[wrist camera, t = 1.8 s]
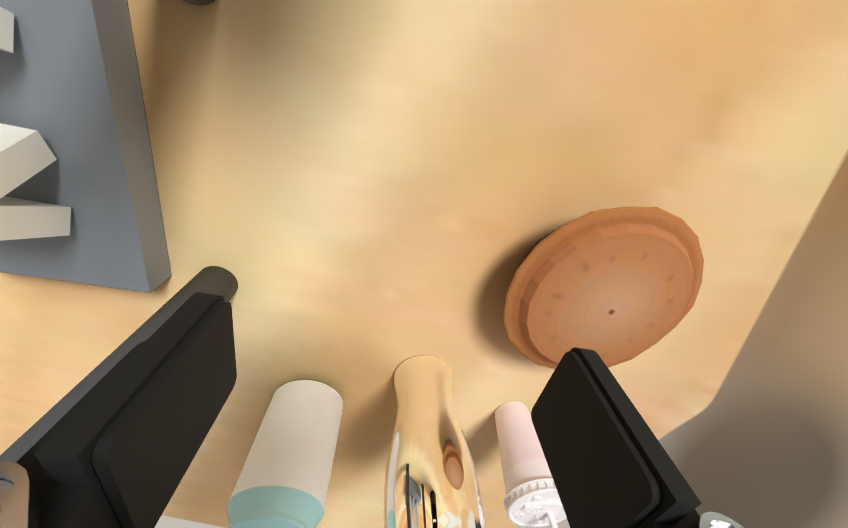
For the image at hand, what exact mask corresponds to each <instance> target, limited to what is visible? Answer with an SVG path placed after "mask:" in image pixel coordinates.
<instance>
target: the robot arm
mask: <svg viewBox="0 0 848 528" xmlns="http://www.w3.org/2000/svg"><path fill="white" fill-rule="evenodd" d="M236 377H237V373H236V360H235V346H234V333H233V320H232V307H231V304H230V303H229V302H225V299H224V297H223V296H222V295H216V294H209V293H203V292H196V293H194V294H193V295H192V296H191V297H190V298H189V299H188V300H187V301H186V302H185V303H184V304H183V305H181V306H180V307H179V308H178V309H177V310H176V311H175V312H174V313H173V314H172V315H171V316H170V317H169V318H168V319H167V320H166V321H165V322H164V323H163V324H162V325H161V326H160V327H159V328H158V329H157V330H156V331H155V332H154V333H153V334H152V335H151V336H150V337H149V338H148V339H147V340H146V341H143V342H141V343H139V344H138V345H136V346H135V347H134V348H133V349H132V350H131V351H129V352H128V353H127V354H126V355H125V356H124V357H123V358H122V359H121V360H120V361H119V362H118V363H117V364H116V365H115V366H114V367H113V368H112V369H111V370H110V371H109V372H108V373H107V374H106V375H105V376H104V377H103V378H102V379H101V380H100V381H99V382H98V383H97V384H96V385H95V386H94V387H93V388H92V389H91V390H90V391H89V392H87V393H86V394H85V395H84V396H83V397H82V398H81V399H80V400H79V401H78V402H77V403H76V404H75V405H74V406H73V407H72V408H71V409H70V410H69V411H68V412H67V413H66V414H65V415H64V416H63V417H62V418H61V419H60V420H59V421H58V422H57V423H56V424H55V425H54V426H53V427H52V428H51V429H50V430H49V431H48V432H47V433H45V434H44V435H43V436H42V437H41V438H40V439H39V440H38V441H37V442H36V443H35V444H34V445H33V446H32V447H31V448H30V449H29V450H28V451H27V452H26V453H25V454H24V455H23V456H22V457H21V458H20V459H19V460H18V461H17V462H16V463H13V462H6V461H0V528H154V527H155V525H156V524H157V522H158V520H159V518H160V517H161V515H162V513H163V511H164V509H165V508H166V506H167V504H168V502H169V501H170V499H171V497H172V495H173V494H174V492H175V490H176V488H177V487H178V485H179V483H180V481H181V479H182V478H183V476H184V474H185V472H186V471H187V469H188V467H189V465H190V464H191V462H192V460H193V458H194V457H195V455H196V453H197V451H198V449H199V448H200V446H201V444H202V442H203V441H204V439H205V437H206V435H207V434H208V432H209V430H210V428H211V427H212V425H213V423H214V421H215V419H216V418H217V416H218V414H219V412H220V411H221V409H222V407H223V405H224V404H225V402H226V400H227V398H228V397H229V395H230V393H231V391H232V389H233V387H234V385H235V382H236ZM531 419H532V423H533V426H534V428H535V431H536V434H537V437H538V440H539V442H540V445H541V448H542V451H543V453H544V456H545V459H546V462H547V464H548V467H549V470H550V473H551V475H552V478H553V481H554V484H555V486H556V489H557V492H558V495H559V498H560V500H561V503H562V506H563V509H564V511H565V514H566V517H567V520H568V522H569V525H570V528H743V527H742V526H741V525H739V524H738V523H737V522H735V521H734V520H732V519H730V518H728V517H726V516H725V515H722V514H719V513H716V512H705V513H704V514H703V515H702V516H699V515H698V513H697V512H696V510H695V508H696V507H698V506H699V505H700V504H701V502H700V500H699V499H698V498H697V496H696V495H695V493H694V492H693V490H692V489H691V487H690V486H689V484H688V483H687V482H686V480H685V479H684V478H683V476H682V474H681V473H680V472H679V470H678V469H677V467H676V466H675V464H674V463H673V462H672V460H671V458H670V457H669V456H668V454H667V453H666V451H665V450H664V449H663V447H662V446H661V444H660V443H659V441H658V440H657V438H656V437H655V435H654V434H653V432H652V431H651V430H650V428H649V427H648V425H647V424H646V422H645V421H644V419H643V418H642V417H641V415H640V414H639V412H638V411H637V409H636V408H635V406H634V405H633V404H632V402H631V401H630V399H629V398H628V396H627V395H626V393H625V392H624V391H623V389H622V388H621V386H620V385H619V383H618V382H617V380H616V379H615V378H614V376H613V375H612V373H611V372H610V370H609V369H608V367H607V366H606V365H605V363H604V362H603V360H602V359H601V357H600V356H599V354H598V353H597V352H596V351H594V350H590V349H583V348H572V349H571V350H570V351H569V352H566V353H565V354H564V355H563V357H562V359H561V361H560V362H559V364H558V366H557V367H556V369H555V371H554V373H553V374H552V376H551V378H550V379H549V381H548V383H547V385H546V386H545V388H544V390H543V391H542V393H541V395H540V397H539V398H538V400H537V402H536V403H535V405H534V407H533V409H532V412H531Z"/></svg>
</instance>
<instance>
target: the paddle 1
mask: <svg viewBox="0 0 848 528" xmlns="http://www.w3.org/2000/svg"><path fill="white" fill-rule="evenodd" d="M13 38H14V14H13V13H11V12H9V11H8V10H6V9H4V8H2V7H0V50H2V51H6V52H11V53H13Z"/></svg>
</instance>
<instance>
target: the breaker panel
mask: <svg viewBox="0 0 848 528" xmlns="http://www.w3.org/2000/svg"><path fill="white" fill-rule="evenodd" d="M0 7H2V8H4V9H6V10H8V11H9V12H11V13H13V14H14V38H13V53H11V52H6V51H2V50H0V123H2V124H7V125H12V126H17V127H22V128H27V129H32V130H37V131H38V132H39V134H40V135H41V137H42V138H43V140H44V141H45V143H46V144H47V146H48V147H49V149H50V150H51V151H52V153H53V154H54V156H55V157H56V159H57V160H56V161H54V162H53V163H51V164H50V165H48V166H47V167H45V168H44V169H43V170H41V171H40V172H38V173H37V174H35V175H34V176H32V177H31V178H29V179H28V180H27V181H25V182H24V183H22V184H21V185H19V186H18V187H16V188H15V189H14V190H12V191H11V192H9V193H8V194H6V195H5V196H7V197H13V198H19V199H25V200H31V201H37V202H43V203H49V204H55V205H61V206H67V207H71V220H70V235H69V236H55V237H42V238H29V239H15V240H2V241H0V272H2V273H9V274H16V275H24V276H31V277H38V278H46V279H53V280H60V281H68V282H75V283H82V284H90V285H97V286H104V287H112V288H119V289H126V290H133V291H141V292H148V293H151V292H152V291H153V290H154V289H156V288H157V287H158V286H159V285H160V284H162V283H163V282H164V281H165V280H166V279H168V278H169V277H170V276H171V269H170V263H169V257H168V251H167V245H166V239H165V232H164V226H163V220H162V214H161V208H160V202H159V195H158V189H157V183H156V177H155V171H154V164H153V158H152V152H151V146H150V140H149V134H148V127H147V121H146V115H145V109H144V103H143V97H142V90H141V84H140V78H139V72H138V66H137V60H136V53H135V47H134V41H133V35H132V29H131V22H130V16H129V10H128V4H127V0H0Z"/></svg>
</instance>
